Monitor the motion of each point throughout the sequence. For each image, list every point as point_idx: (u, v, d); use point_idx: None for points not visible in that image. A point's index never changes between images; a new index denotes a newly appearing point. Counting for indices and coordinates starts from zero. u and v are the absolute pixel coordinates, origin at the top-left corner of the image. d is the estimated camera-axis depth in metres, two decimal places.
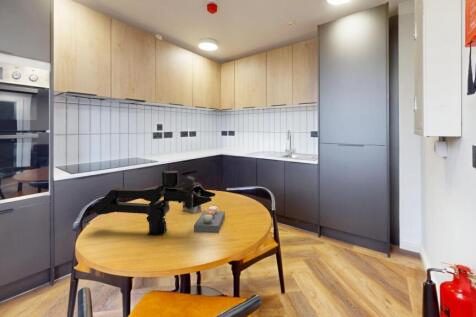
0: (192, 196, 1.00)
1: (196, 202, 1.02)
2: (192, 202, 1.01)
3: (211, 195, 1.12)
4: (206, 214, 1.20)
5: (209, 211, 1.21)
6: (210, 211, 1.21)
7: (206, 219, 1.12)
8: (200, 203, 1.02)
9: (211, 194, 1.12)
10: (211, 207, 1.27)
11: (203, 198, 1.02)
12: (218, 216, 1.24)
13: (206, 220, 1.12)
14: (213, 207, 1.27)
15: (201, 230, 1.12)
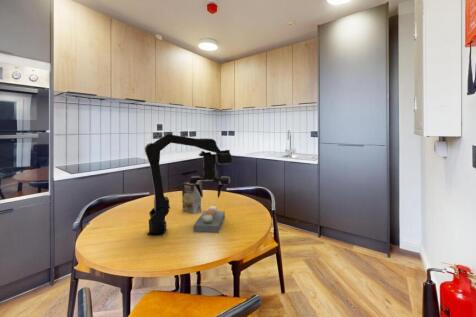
0: None
1: None
2: (225, 183, 1.18)
3: (202, 194, 1.20)
4: (206, 214, 1.20)
5: (209, 211, 1.21)
6: (210, 211, 1.21)
7: (206, 219, 1.12)
8: (220, 189, 1.18)
9: (202, 194, 1.20)
10: (211, 207, 1.27)
11: (220, 191, 1.20)
12: (218, 216, 1.24)
13: (206, 220, 1.12)
14: (213, 207, 1.27)
15: (201, 230, 1.12)
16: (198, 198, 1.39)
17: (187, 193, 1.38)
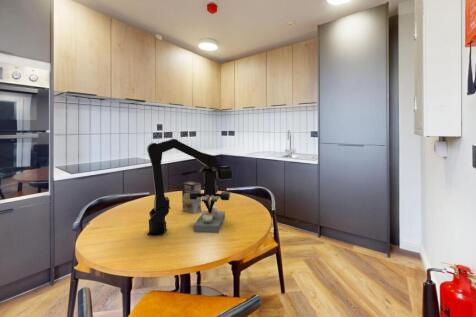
0: None
1: None
2: (217, 199, 1.19)
3: None
4: None
5: None
6: None
7: (206, 219, 1.12)
8: (212, 205, 1.19)
9: None
10: None
11: None
12: (218, 216, 1.24)
13: (206, 220, 1.12)
14: (213, 207, 1.27)
15: (201, 230, 1.12)
16: (198, 198, 1.39)
17: (187, 193, 1.38)
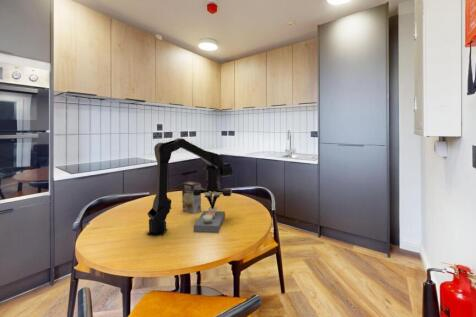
0: (220, 193, 1.28)
1: None
2: (219, 195, 1.26)
3: (212, 205, 1.27)
4: None
5: (209, 212, 1.21)
6: (210, 212, 1.21)
7: (206, 219, 1.12)
8: (215, 201, 1.25)
9: None
10: (211, 208, 1.27)
11: (215, 202, 1.27)
12: (218, 216, 1.24)
13: (206, 220, 1.12)
14: None
15: (201, 230, 1.12)
16: (198, 198, 1.39)
17: (187, 193, 1.38)
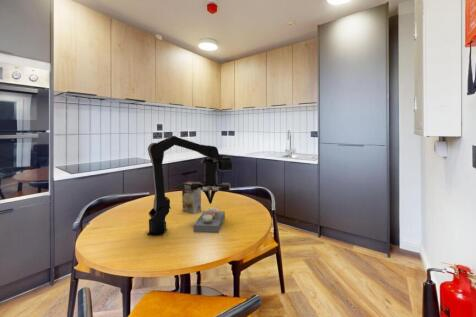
0: None
1: None
2: (217, 189, 1.21)
3: None
4: None
5: (209, 212, 1.21)
6: (210, 212, 1.21)
7: (206, 219, 1.12)
8: (213, 195, 1.20)
9: None
10: (211, 208, 1.27)
11: None
12: (218, 216, 1.24)
13: (206, 220, 1.12)
14: (213, 208, 1.27)
15: (201, 230, 1.12)
16: (198, 198, 1.39)
17: (187, 193, 1.38)
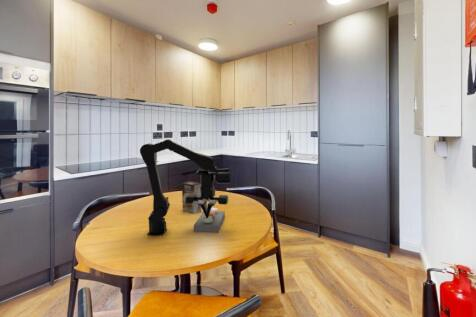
0: (215, 201, 1.15)
1: None
2: (214, 203, 1.13)
3: None
4: None
5: None
6: (210, 212, 1.21)
7: (206, 221, 1.13)
8: (210, 209, 1.12)
9: None
10: (211, 208, 1.27)
11: (210, 210, 1.15)
12: (218, 216, 1.24)
13: (206, 222, 1.13)
14: (213, 208, 1.27)
15: (201, 230, 1.12)
16: None
17: (187, 193, 1.38)
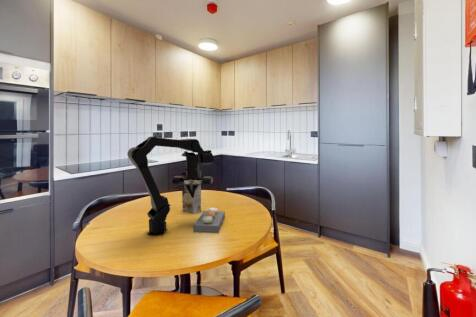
0: (200, 182, 1.21)
1: None
2: (199, 183, 1.19)
3: None
4: (206, 215, 1.20)
5: (209, 212, 1.21)
6: (210, 212, 1.21)
7: (206, 221, 1.13)
8: (195, 189, 1.19)
9: None
10: (211, 208, 1.27)
11: (195, 191, 1.21)
12: (218, 216, 1.24)
13: (206, 222, 1.13)
14: (213, 208, 1.27)
15: (201, 230, 1.12)
16: (198, 198, 1.39)
17: (187, 193, 1.38)
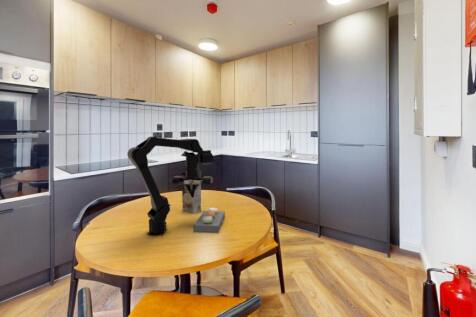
0: (200, 182, 1.22)
1: None
2: (199, 183, 1.19)
3: None
4: (206, 215, 1.20)
5: (209, 212, 1.21)
6: (210, 212, 1.21)
7: (206, 221, 1.13)
8: (195, 189, 1.19)
9: None
10: (211, 208, 1.27)
11: (195, 190, 1.21)
12: (218, 216, 1.24)
13: (206, 222, 1.13)
14: (213, 208, 1.27)
15: (201, 230, 1.12)
16: (198, 198, 1.39)
17: (187, 193, 1.38)
